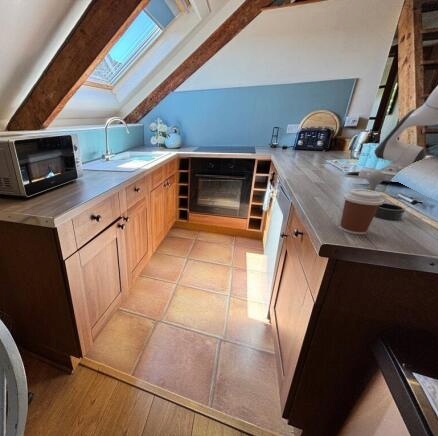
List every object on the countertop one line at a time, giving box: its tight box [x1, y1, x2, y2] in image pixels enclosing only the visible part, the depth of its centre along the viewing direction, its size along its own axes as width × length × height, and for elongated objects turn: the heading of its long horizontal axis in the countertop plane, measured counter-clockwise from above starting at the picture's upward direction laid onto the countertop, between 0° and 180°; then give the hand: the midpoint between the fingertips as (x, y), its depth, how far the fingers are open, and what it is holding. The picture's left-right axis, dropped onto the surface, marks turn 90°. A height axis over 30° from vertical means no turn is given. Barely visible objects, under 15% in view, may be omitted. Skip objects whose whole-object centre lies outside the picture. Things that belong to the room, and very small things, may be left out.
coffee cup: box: [339, 188, 385, 235], centre depth 72 cm, size 9×9×12 cm
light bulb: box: [366, 171, 385, 191], centre depth 106 cm, size 6×6×10 cm
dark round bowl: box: [374, 202, 406, 221], centre depth 83 cm, size 8×8×4 cm
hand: (381, 178), depth 111 cm, fingers open, 8 cm apart
